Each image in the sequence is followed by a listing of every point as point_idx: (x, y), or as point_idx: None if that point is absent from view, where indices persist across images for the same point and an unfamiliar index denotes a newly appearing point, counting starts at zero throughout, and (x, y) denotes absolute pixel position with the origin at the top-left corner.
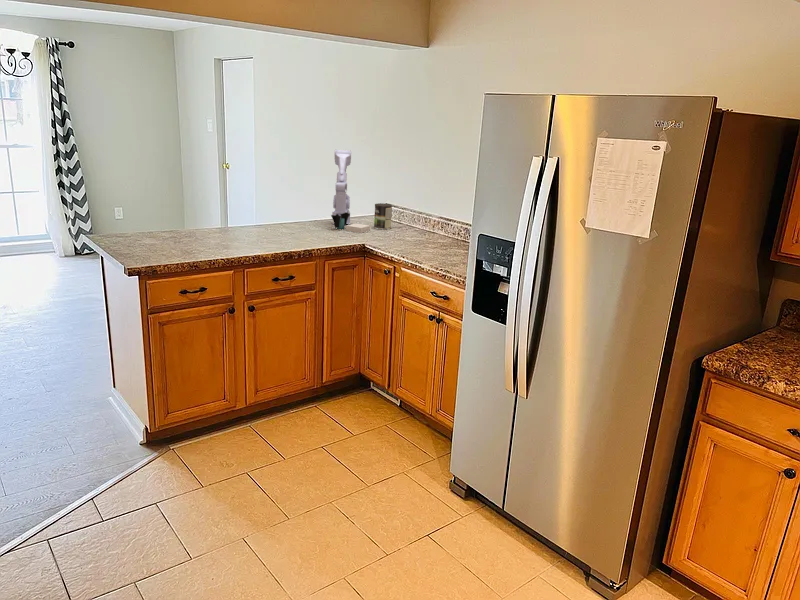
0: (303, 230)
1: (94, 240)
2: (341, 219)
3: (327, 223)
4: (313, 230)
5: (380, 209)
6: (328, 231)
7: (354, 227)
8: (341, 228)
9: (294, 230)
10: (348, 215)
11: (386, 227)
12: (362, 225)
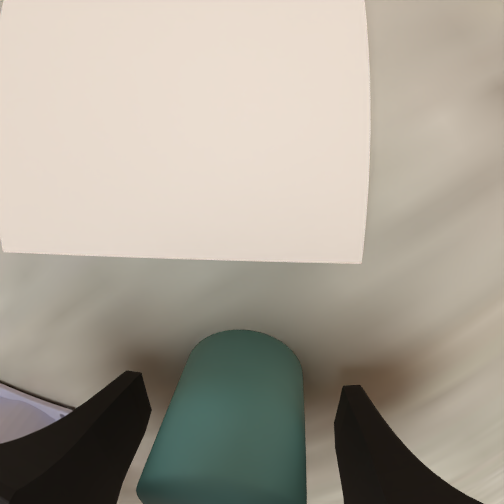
0: (492, 474)
1: None
2: (284, 491)
3: (124, 500)
4: (478, 456)
5: None
6: (490, 372)
7: (364, 17)
8: (283, 354)
9: (501, 485)
10: (8, 469)
11: None
12: (57, 17)
